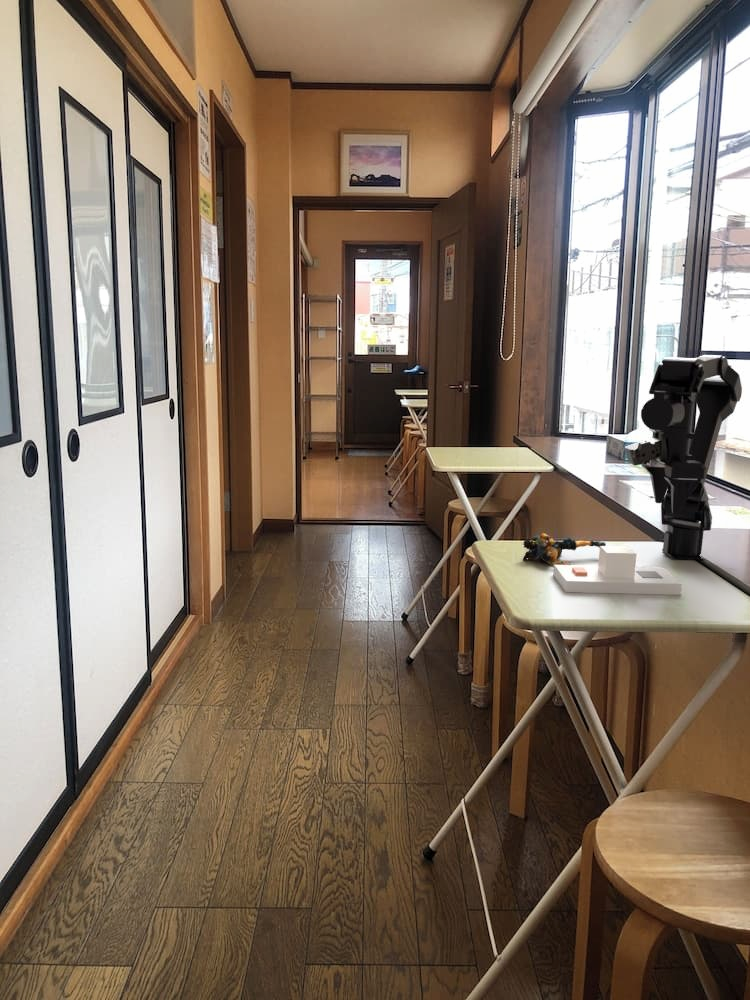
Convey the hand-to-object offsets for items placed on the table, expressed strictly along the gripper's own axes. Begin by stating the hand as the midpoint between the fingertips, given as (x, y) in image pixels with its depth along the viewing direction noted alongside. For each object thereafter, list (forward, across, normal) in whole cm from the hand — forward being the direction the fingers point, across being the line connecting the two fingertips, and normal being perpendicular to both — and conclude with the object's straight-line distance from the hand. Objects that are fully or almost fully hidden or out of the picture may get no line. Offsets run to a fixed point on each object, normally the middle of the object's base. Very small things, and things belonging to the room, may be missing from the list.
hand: (666, 508), depth 155 cm
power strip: (+12, +11, -12) cm, 20 cm away
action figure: (+12, -4, -18) cm, 23 cm away
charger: (+12, +11, -12) cm, 20 cm away
